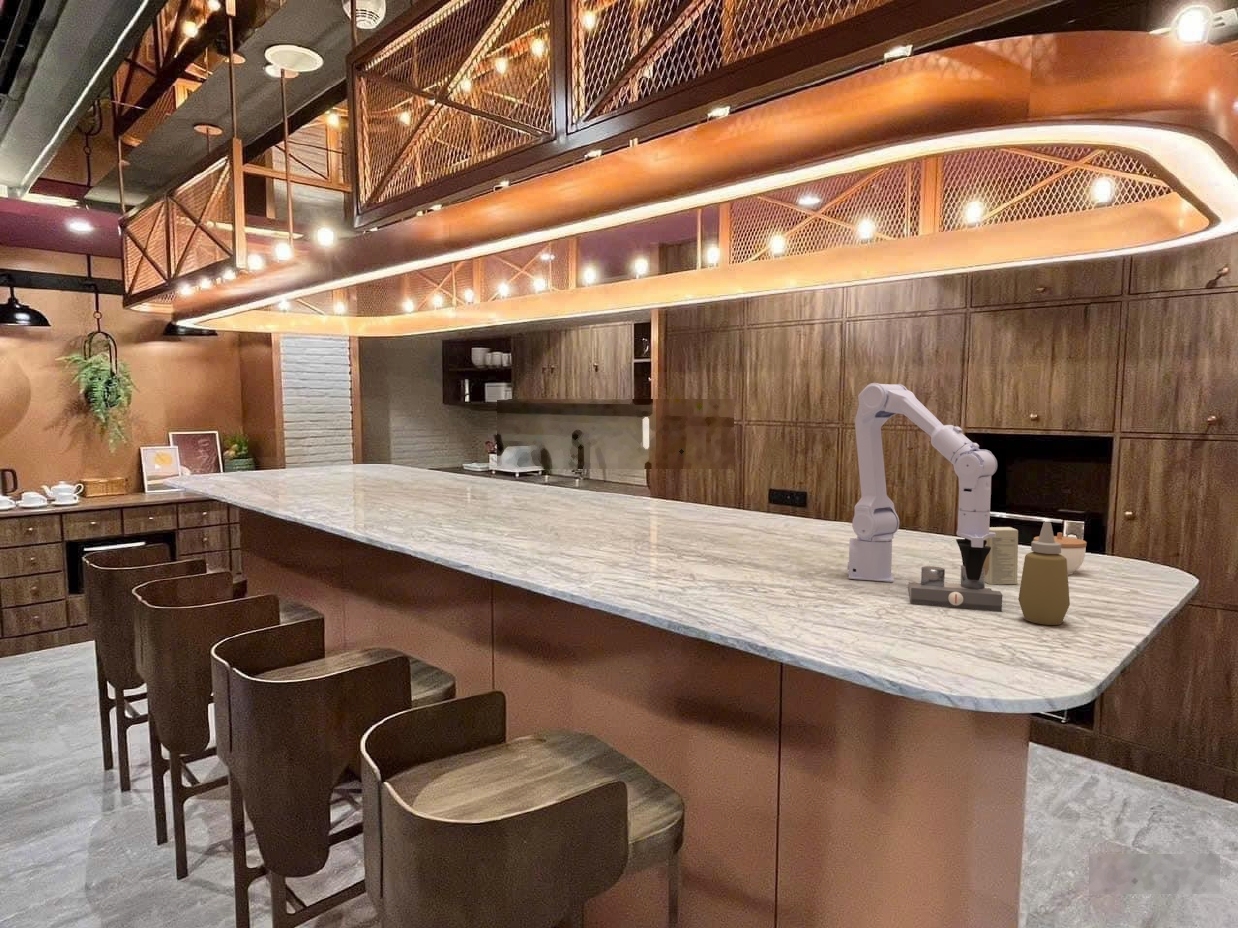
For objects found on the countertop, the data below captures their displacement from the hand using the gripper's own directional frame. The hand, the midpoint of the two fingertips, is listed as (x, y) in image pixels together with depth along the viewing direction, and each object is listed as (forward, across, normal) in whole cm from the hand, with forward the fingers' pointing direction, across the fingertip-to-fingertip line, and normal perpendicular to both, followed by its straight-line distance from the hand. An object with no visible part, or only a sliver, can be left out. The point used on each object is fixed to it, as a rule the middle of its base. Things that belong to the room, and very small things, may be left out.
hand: (971, 576), depth 146 cm
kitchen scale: (+4, -1, +4) cm, 6 cm away
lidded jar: (+5, +35, -22) cm, 42 cm away
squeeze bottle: (+5, -13, -10) cm, 17 cm away
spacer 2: (+2, 0, 0) cm, 2 cm away
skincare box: (+5, +18, -7) cm, 20 cm away
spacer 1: (+3, 0, +7) cm, 8 cm away
